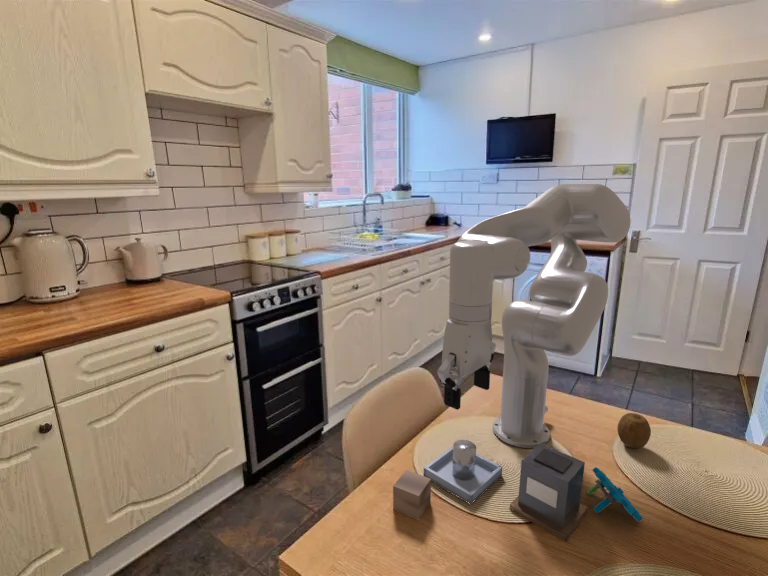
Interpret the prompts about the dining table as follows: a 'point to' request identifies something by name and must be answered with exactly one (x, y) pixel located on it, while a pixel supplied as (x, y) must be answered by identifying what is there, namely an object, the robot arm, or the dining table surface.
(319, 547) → the dining table surface
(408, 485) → the block
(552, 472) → the box with rectangular openings
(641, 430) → the fruit
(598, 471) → the blue green-pegged part
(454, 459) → the metal cylinder
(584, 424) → the dining table surface
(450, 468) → the tray
